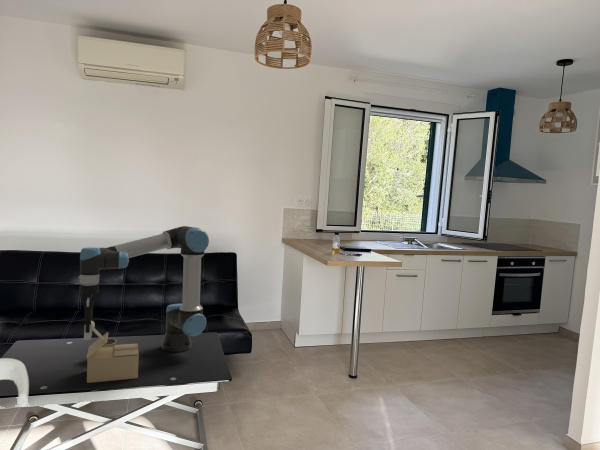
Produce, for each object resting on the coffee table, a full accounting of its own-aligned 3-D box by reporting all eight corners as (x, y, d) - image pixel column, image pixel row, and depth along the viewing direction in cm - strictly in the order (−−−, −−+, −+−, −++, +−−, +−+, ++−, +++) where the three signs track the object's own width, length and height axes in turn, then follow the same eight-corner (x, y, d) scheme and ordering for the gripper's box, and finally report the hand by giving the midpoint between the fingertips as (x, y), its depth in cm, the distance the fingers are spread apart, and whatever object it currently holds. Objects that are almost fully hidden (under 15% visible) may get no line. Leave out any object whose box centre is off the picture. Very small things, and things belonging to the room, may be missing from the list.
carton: (137, 366, 203) (138, 343, 202) (137, 378, 190) (138, 353, 189) (89, 370, 195) (90, 346, 195) (86, 382, 182) (87, 356, 182)
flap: (108, 332, 197) (91, 314, 194) (107, 342, 184) (89, 323, 181) (90, 347, 194) (72, 329, 191) (87, 358, 182) (68, 339, 179)
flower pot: (108, 363, 204) (108, 345, 203) (90, 361, 206) (90, 343, 205) (120, 357, 213) (120, 339, 213) (102, 354, 215) (103, 337, 215)
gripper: (81, 280, 193) (80, 332, 194) (77, 288, 177) (76, 344, 178) (100, 280, 196) (98, 331, 197) (97, 287, 180) (96, 343, 181)
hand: (87, 337), depth 188 cm, fingers closed on flap, 4 cm apart
